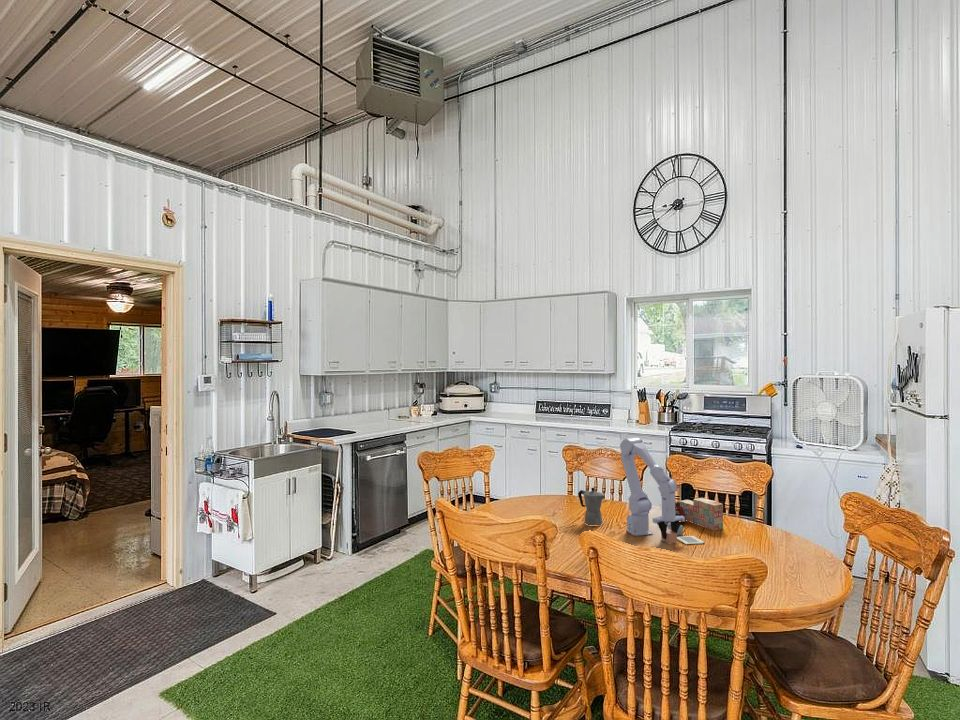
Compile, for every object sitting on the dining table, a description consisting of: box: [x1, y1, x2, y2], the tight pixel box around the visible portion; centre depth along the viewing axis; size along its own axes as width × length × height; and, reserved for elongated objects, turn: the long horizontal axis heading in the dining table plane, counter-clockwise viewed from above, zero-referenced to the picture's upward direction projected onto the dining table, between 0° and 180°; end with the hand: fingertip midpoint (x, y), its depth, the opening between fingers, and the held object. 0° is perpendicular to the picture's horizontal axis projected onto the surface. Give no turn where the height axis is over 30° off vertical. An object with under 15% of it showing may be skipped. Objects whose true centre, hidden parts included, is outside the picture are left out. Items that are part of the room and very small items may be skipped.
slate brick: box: [667, 522, 684, 536], centre depth 235 cm, size 4×6×4 cm, turn 10°
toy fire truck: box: [675, 501, 687, 523], centre depth 252 cm, size 7×12×10 cm, turn 34°
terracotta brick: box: [661, 528, 678, 544], centre depth 224 cm, size 4×6×4 cm, turn 10°
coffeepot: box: [577, 487, 606, 525], centre depth 251 cm, size 15×9×18 cm, turn 44°
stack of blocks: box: [678, 497, 724, 531], centre depth 249 cm, size 21×6×12 cm, turn 25°
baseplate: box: [677, 535, 706, 546], centre depth 224 cm, size 9×9×1 cm
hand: (669, 538), depth 224 cm, fingers closed on terracotta brick, 4 cm apart
